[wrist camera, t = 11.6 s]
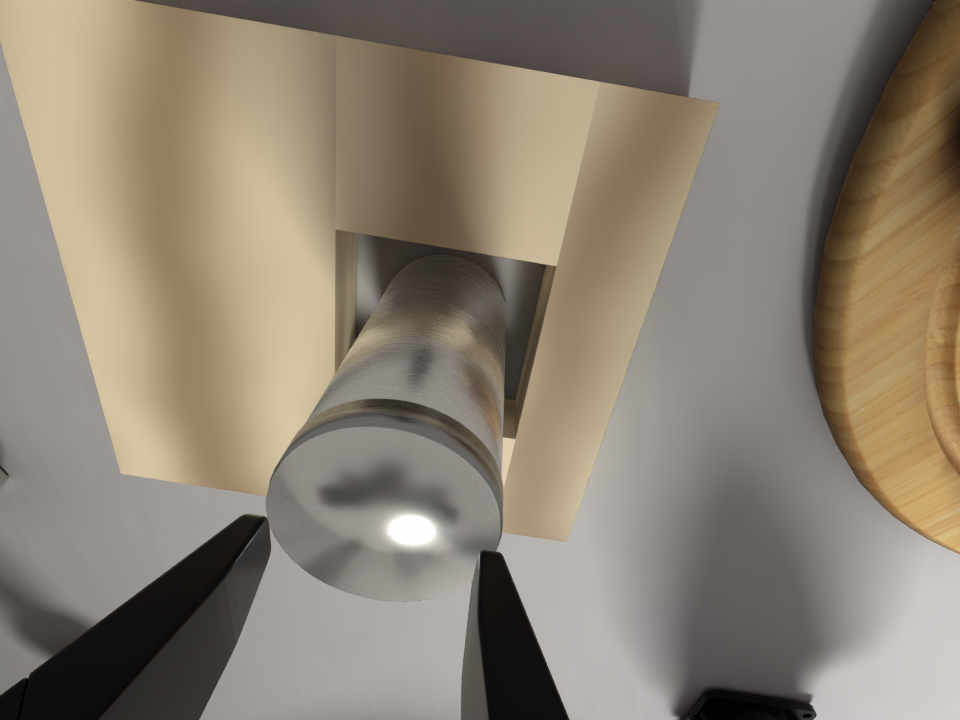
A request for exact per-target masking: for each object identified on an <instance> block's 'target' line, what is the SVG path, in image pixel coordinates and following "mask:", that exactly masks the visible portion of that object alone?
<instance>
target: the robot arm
mask: <svg viewBox="0 0 960 720" xmlns="http://www.w3.org/2000/svg"><path fill="white" fill-rule="evenodd" d="M270 552H271V540H270V529H269V521H268V519H267V517H265V516H259V515H253V514H245V515H242V516H240V517H239V518H238V519H236V520H235V521H234V522H232V523H231V524H230V525H228V526H227V527H226V528H224V529H223V530H222V531H220V532H219V533H217V534H216V535H215V536H213V537H212V538H211V539H209V540H208V541H207V542H205V543H204V544H203V545H201V546H200V547H199V548H197V549H196V550H195V551H193V552H192V553H191V554H189V555H188V556H187V557H185V558H184V559H183V560H181V561H180V562H179V563H177V564H176V565H175V566H173V567H172V568H171V569H169V570H168V571H167V572H165V573H164V574H163V575H161V576H160V577H159V578H157V579H156V580H155V581H153V582H152V583H151V584H149V585H148V586H147V587H145V588H144V589H143V590H141V591H140V592H138V593H137V594H136V595H134V596H133V597H132V598H130V599H129V600H128V601H126V602H125V603H124V604H122V605H121V606H120V607H118V608H117V609H116V610H114V611H113V612H112V613H110V614H109V615H108V616H106V617H105V618H104V619H102V620H101V621H100V622H98V623H97V624H96V625H94V626H93V627H92V628H90V629H89V630H88V631H86V632H85V633H84V634H82V635H81V636H80V637H78V638H77V639H76V640H74V641H73V642H72V643H70V644H69V645H68V646H66V647H65V648H64V649H62V650H61V651H60V652H58V653H57V654H55V655H54V656H53V657H51V658H50V659H49V660H47V661H46V662H45V663H43V664H42V665H41V666H39V667H38V668H37V669H35V670H34V671H33V672H31V673H30V675H29V678H23V679H22V680H20V681H19V682H18V683H16V684H15V685H14V686H12V687H11V688H10V689H8V690H7V691H6V692H4V693H3V694H2V695H0V720H199V719H200V717H201V715H202V713H203V711H204V709H205V707H206V705H207V703H208V701H209V699H210V697H211V695H212V693H213V691H214V689H215V687H216V685H217V683H218V681H219V679H220V677H221V675H222V673H223V671H224V669H225V667H226V665H227V663H228V661H229V659H230V657H231V655H232V652H233V650H234V648H235V646H236V644H237V641H238V639H239V636H240V634H241V631H242V629H243V626H244V623H245V621H246V618H247V616H248V613H249V610H250V608H251V605H252V602H253V600H254V597H255V594H256V592H257V589H258V586H259V584H260V581H261V579H262V576H263V573H264V571H265V568H266V565H267V563H268V560H269V557H270ZM815 717H816V712H815V710H814V708H813V706H812V705H810V704H806V703H799V702H792V701H785V700H778V699H772V698H765V697H758V696H751V695H745V694H738V693H731V692H724V691H717V690H709V691H706V692H705V693H704V694H703V695H702V696H701V698H700V699H699V701H698V702H697V703H696V705H695V706H694V708H693V709H692V711H691V712H690V713H689V715H688V716H687V718H686V719H685V720H813V719H814V718H815ZM461 720H569V717H568V715H567V712H566V710H565V707H564V705H563V703H562V700H561V698H560V695H559V693H558V690H557V688H556V685H555V683H554V680H553V678H552V675H551V673H550V670H549V668H548V666H547V663H546V661H545V658H544V656H543V653H542V651H541V648H540V646H539V643H538V641H537V638H536V636H535V633H534V631H533V628H532V626H531V624H530V621H529V619H528V616H527V614H526V611H525V609H524V606H523V604H522V601H521V599H520V596H519V594H518V591H517V589H516V586H515V584H514V582H513V579H512V577H511V574H510V572H509V569H508V567H507V564H506V562H505V559H504V557H503V555H502V554H501V553H500V552H495V551H489V550H481V551H480V552H479V554H478V558H477V562H476V567H475V571H474V576H473V581H472V587H471V596H470V604H469V613H468V622H467V631H466V640H465V649H464V658H463V669H462V687H461Z"/></svg>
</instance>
